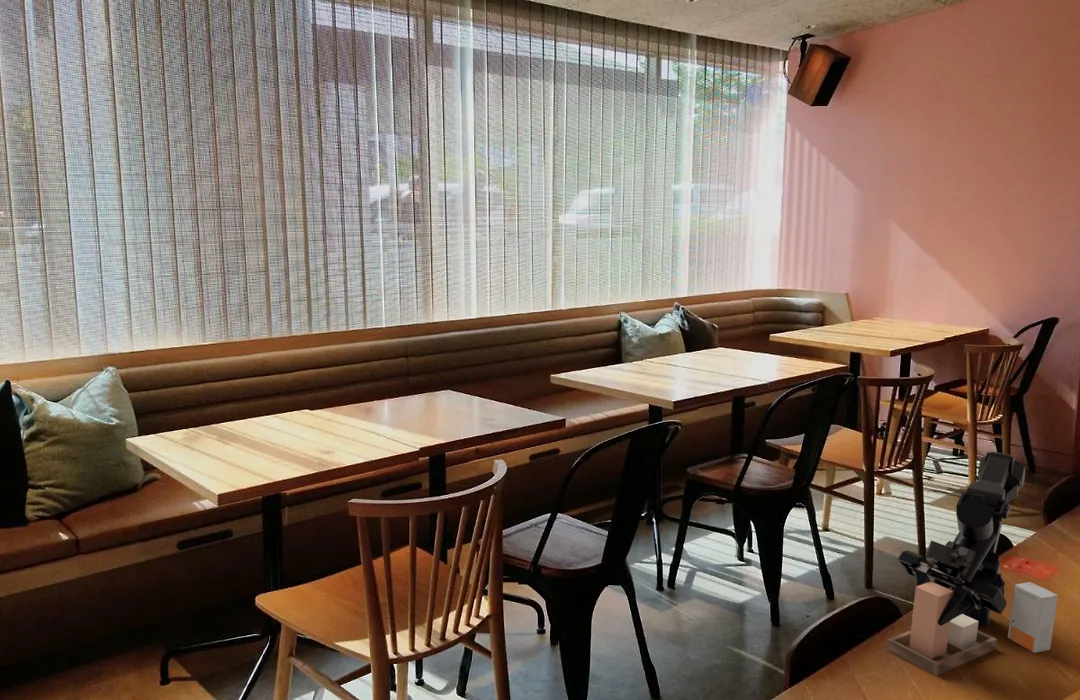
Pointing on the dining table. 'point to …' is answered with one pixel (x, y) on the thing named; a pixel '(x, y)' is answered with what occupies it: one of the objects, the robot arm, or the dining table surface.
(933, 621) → the terracotta peg
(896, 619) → the dining table surface
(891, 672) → the dining table surface
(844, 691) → the dining table surface
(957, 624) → the cream block
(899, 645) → the walnut slot tray
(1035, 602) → the skincare box
